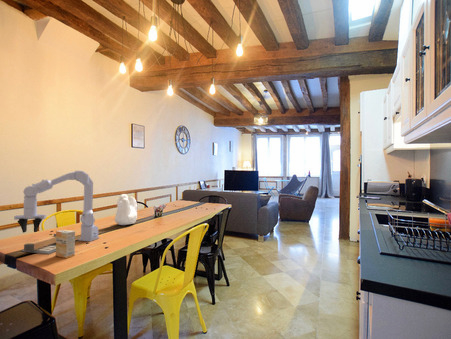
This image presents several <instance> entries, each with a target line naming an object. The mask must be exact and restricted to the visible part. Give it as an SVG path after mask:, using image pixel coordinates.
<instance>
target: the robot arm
mask: <svg viewBox="0 0 451 339" xmlns="http://www.w3.org/2000/svg"><path fill="white" fill-rule="evenodd" d="M65 181H77V182H79V183H81V184H82V185H83V186H84V188H83V207H82V208H83V210H82V215H81V216H80V222H81V225H80V238H78V239H77V241H81V242H93V241H94V240H97V239H100V237H99V227H98V226H97V225H95V221H96V220H95V217H94V212H93V205H94V204H93V201H94V200H93V199H94V197H93V196H94V193H93V192H94V181H93V180H92V178H91V177H90V176H89V174H88V173H87V172H86V171H83V170H74V171H71V172H67V173H65V174H63V175H61V176H57V177H56V178H53V179H51V180H49V179H42V180H41V181H39V182H38V183H32V184H31V185H28V186H26V187H25V188H24V189H23V214H21V215H19V214H18V215H14V218H13V219H14V221H15V220H17V223H18V224H19V226H20V229H21V231H22V233H26V232H27V230H28V227H27V226H28V220H32V224H33V232H34V233H36V232H38V231H39V230H38V229H39V227H40V225H41V223H42V221H43V220H45V219H47V217H46V216H47V215H46V214H38V199H37V195H38V194H41V193H44V192H46V191H48V190H51V189H53V186H55V185H57V184H61V183H63V182H65Z"/></svg>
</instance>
